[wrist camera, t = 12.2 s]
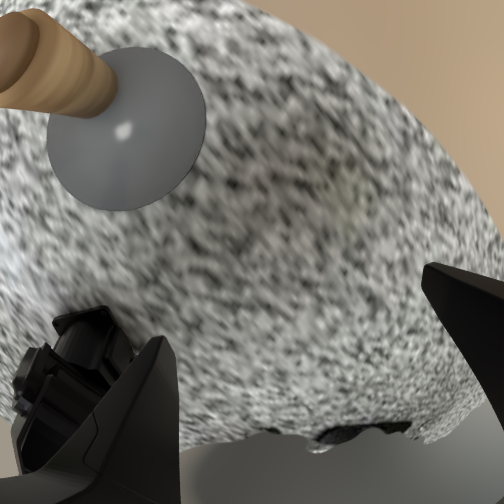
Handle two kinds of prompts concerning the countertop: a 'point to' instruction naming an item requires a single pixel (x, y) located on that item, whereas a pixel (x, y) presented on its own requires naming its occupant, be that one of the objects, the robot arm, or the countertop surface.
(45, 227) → the countertop surface
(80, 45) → the brown cylinder
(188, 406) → the countertop surface
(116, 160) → the slate coaster
